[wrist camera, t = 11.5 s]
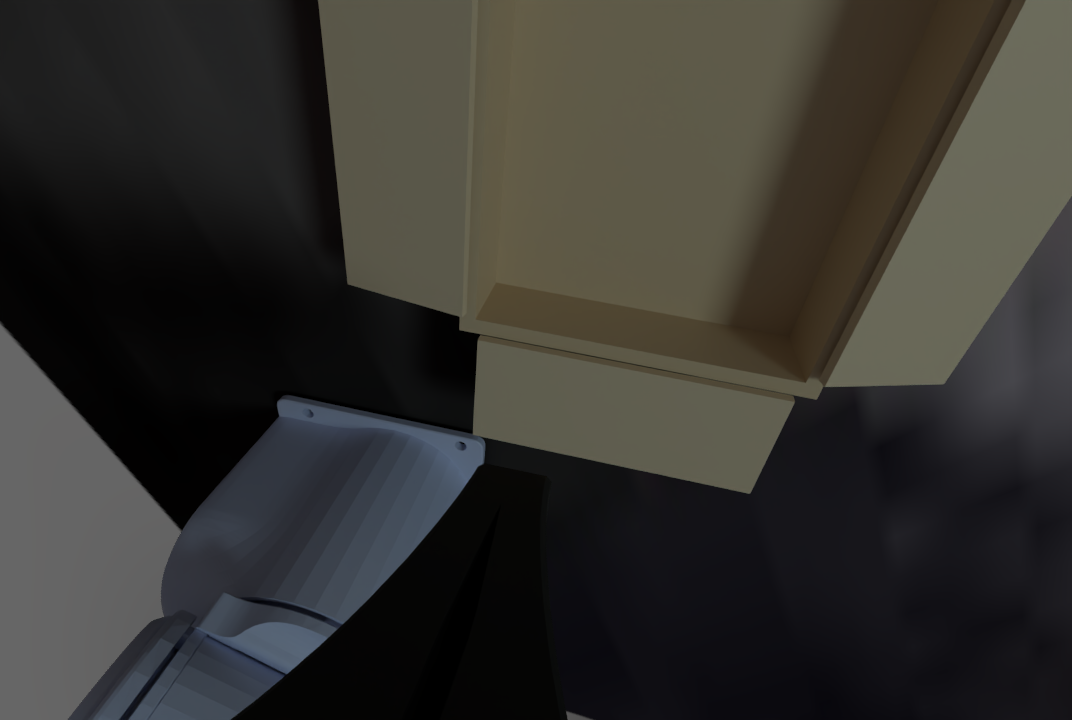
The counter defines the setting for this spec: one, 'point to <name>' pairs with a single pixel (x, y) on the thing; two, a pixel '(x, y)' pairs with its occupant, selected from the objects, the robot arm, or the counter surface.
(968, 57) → the carton
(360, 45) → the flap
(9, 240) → the counter surface
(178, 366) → the counter surface
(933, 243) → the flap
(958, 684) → the counter surface
